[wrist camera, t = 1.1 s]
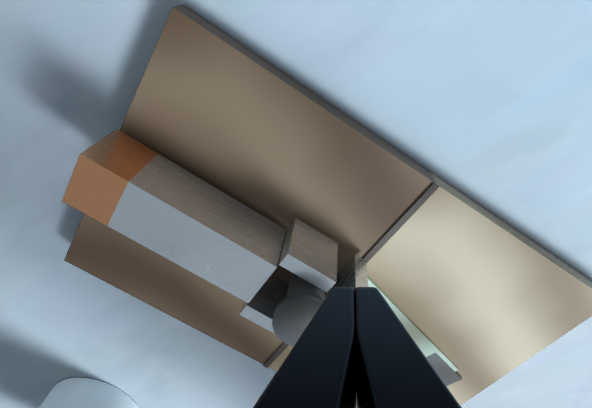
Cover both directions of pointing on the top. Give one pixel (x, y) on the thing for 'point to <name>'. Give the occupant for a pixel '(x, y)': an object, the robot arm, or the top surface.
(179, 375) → the top surface
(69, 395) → the cylindrical container
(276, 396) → the robot arm
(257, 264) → the swing bar
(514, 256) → the door-edge board
